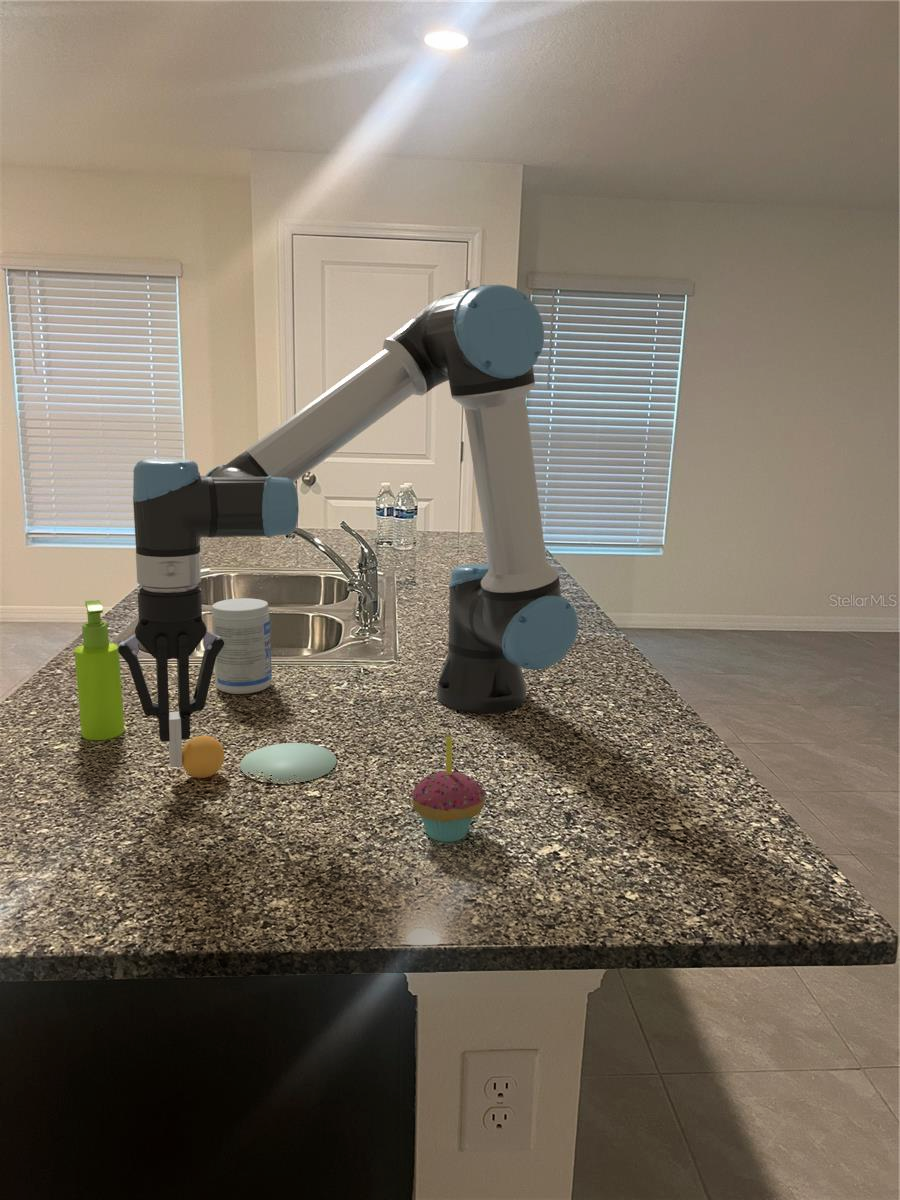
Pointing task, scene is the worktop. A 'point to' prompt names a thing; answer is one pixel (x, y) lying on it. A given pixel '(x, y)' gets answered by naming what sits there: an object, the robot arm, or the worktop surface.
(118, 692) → the soap dispenser
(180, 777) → the worktop surface
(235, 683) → the supplement tub
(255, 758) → the smooth pale green disc
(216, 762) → the ball
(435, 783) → the cupcake
